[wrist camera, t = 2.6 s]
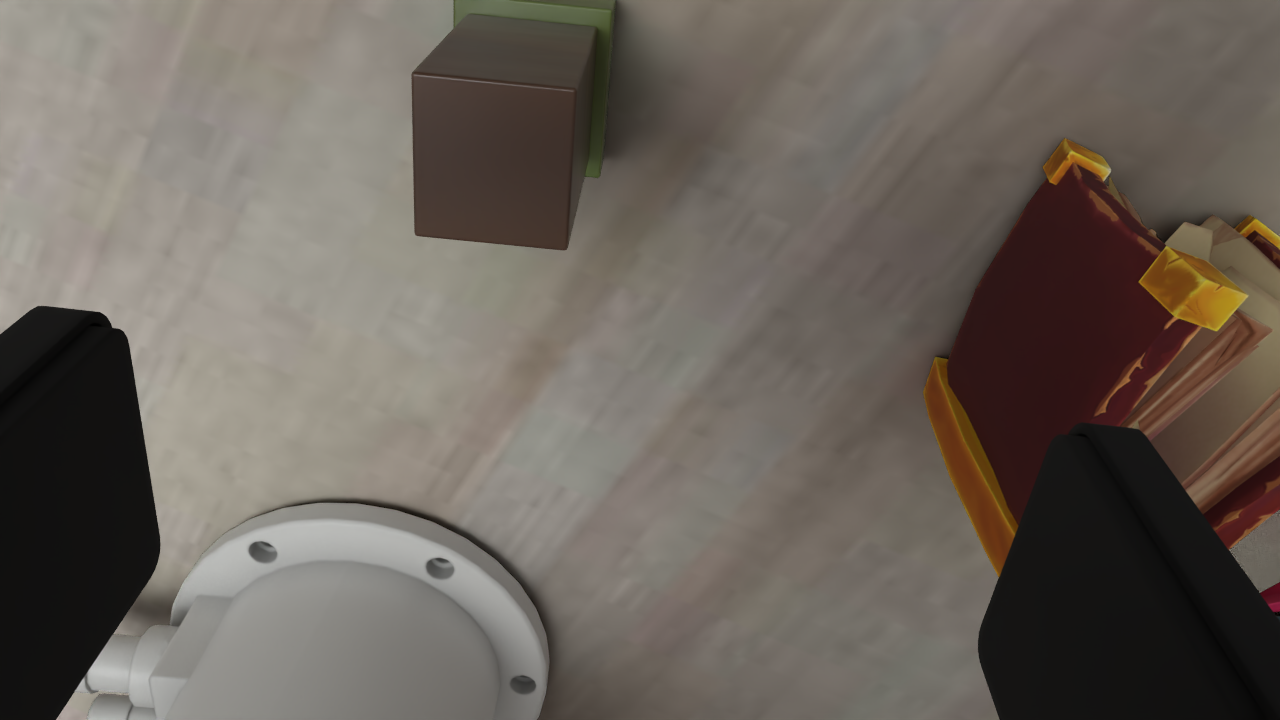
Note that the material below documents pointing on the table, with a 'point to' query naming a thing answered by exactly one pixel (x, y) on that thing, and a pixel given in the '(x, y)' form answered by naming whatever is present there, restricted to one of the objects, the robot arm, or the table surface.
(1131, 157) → the table surface
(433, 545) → the robot arm
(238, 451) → the table surface
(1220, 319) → the book monster
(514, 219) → the scrub brush
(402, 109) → the table surface
